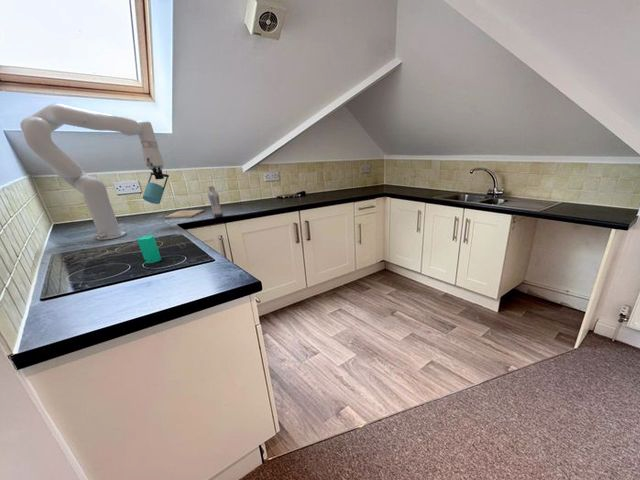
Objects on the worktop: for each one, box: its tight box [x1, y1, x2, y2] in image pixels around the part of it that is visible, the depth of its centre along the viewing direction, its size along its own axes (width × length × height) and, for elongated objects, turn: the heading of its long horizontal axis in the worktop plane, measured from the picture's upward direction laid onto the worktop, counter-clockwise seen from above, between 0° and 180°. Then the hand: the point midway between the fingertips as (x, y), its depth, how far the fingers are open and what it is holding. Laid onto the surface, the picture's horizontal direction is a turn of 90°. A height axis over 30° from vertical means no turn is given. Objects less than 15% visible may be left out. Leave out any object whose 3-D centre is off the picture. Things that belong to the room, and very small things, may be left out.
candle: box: [136, 233, 162, 264], centre depth 125 cm, size 6×6×12 cm
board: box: [163, 209, 205, 219], centre depth 211 cm, size 20×18×1 cm
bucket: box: [142, 171, 170, 205], centre depth 173 cm, size 18×10×8 cm
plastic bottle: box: [207, 186, 224, 219], centre depth 197 cm, size 6×7×20 cm
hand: (159, 178), depth 176 cm, fingers closed on bucket, 1 cm apart
